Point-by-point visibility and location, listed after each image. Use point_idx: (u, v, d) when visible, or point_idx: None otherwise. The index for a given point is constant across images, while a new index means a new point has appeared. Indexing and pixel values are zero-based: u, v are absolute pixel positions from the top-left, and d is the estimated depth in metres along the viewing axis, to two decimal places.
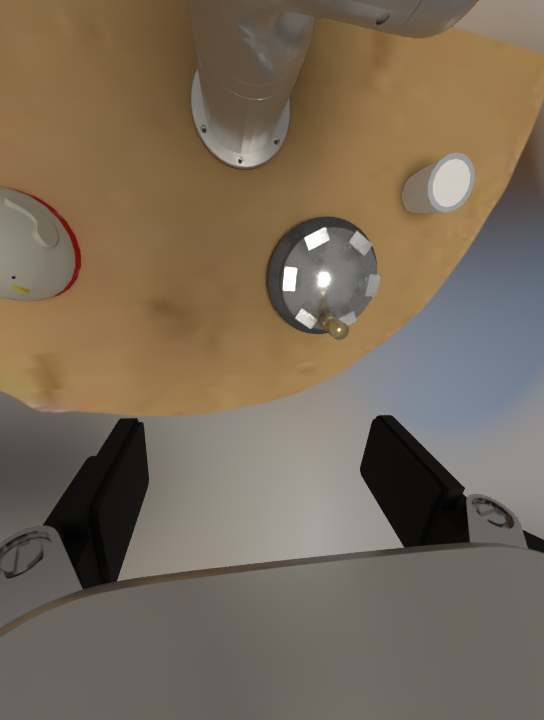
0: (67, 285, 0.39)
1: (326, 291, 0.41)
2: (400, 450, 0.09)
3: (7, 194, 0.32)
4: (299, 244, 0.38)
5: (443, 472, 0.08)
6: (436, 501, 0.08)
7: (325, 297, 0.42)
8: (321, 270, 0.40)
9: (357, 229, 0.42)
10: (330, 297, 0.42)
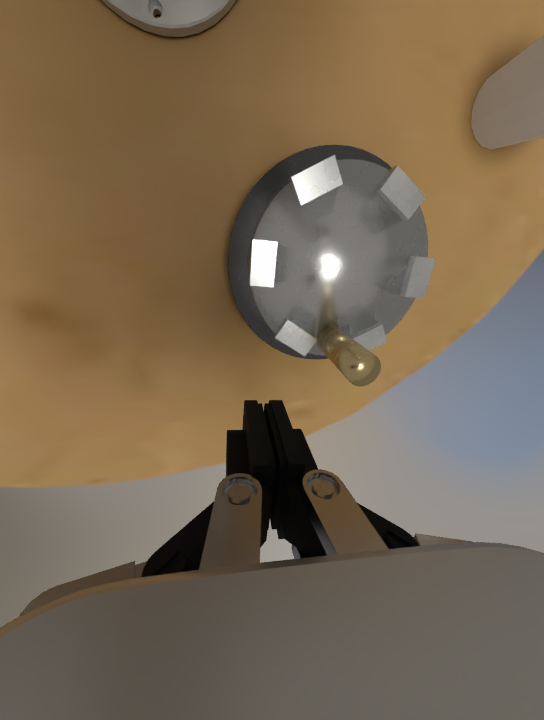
0: None
1: (333, 287, 0.22)
2: (271, 431, 0.10)
3: None
4: (282, 193, 0.19)
5: (294, 449, 0.09)
6: (282, 476, 0.08)
7: (331, 298, 0.23)
8: (324, 247, 0.21)
9: None
10: (340, 298, 0.23)
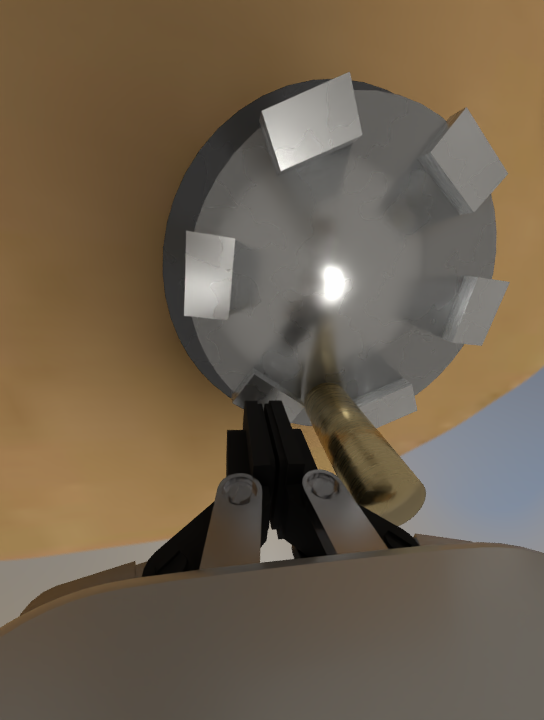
0: None
1: (335, 322, 0.13)
2: (271, 431, 0.10)
3: None
4: (246, 148, 0.10)
5: (294, 449, 0.09)
6: (282, 476, 0.08)
7: (330, 340, 0.14)
8: (322, 254, 0.12)
9: None
10: (346, 340, 0.14)
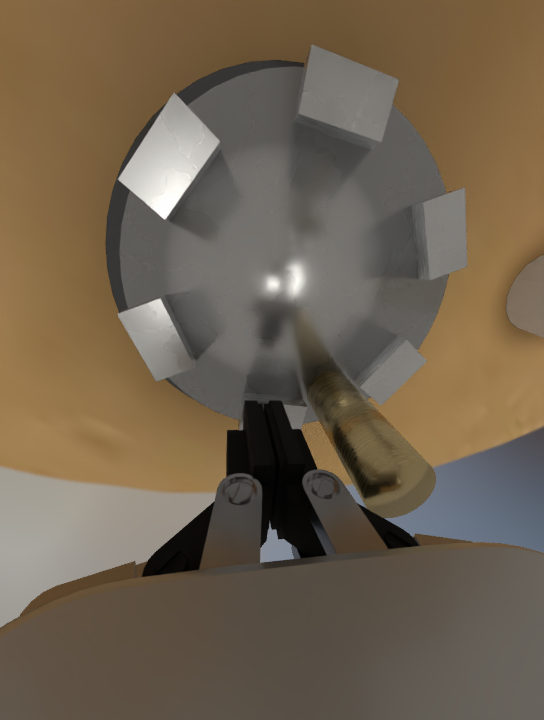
0: None
1: (298, 318, 0.13)
2: (271, 431, 0.10)
3: None
4: (129, 214, 0.10)
5: (294, 449, 0.09)
6: (282, 476, 0.08)
7: (302, 336, 0.13)
8: (250, 265, 0.12)
9: None
10: (318, 329, 0.13)
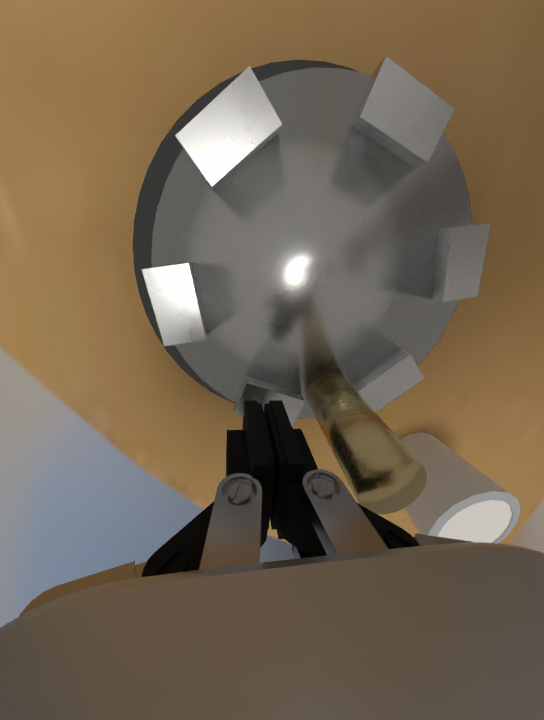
0: None
1: (313, 313, 0.13)
2: (271, 431, 0.10)
3: None
4: (175, 173, 0.10)
5: (294, 449, 0.09)
6: (282, 476, 0.08)
7: (314, 331, 0.13)
8: (280, 251, 0.12)
9: None
10: (330, 328, 0.13)
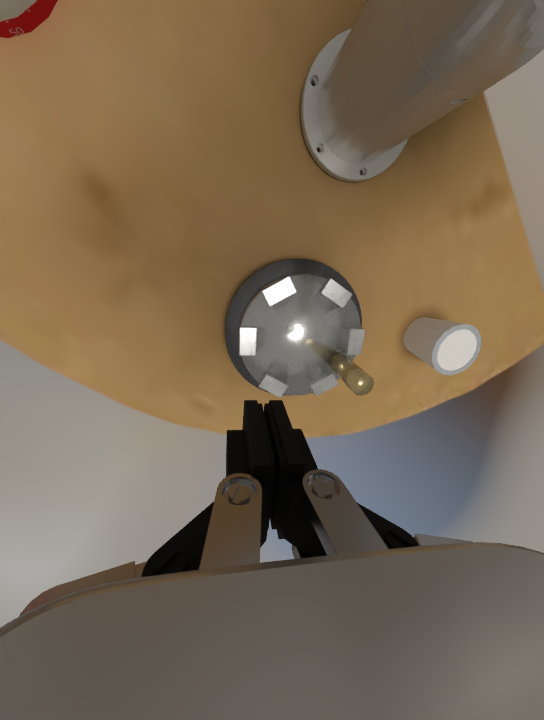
0: None
1: (308, 348, 0.33)
2: (271, 431, 0.10)
3: None
4: (244, 359, 0.32)
5: (294, 449, 0.09)
6: (282, 476, 0.08)
7: (314, 352, 0.33)
8: (283, 346, 0.32)
9: (359, 317, 0.36)
10: (318, 346, 0.33)
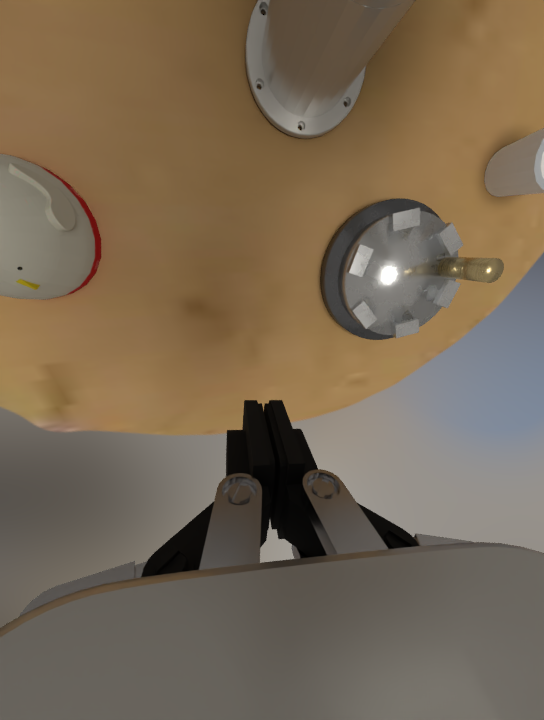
0: (84, 280, 0.32)
1: (413, 279, 0.34)
2: (271, 431, 0.10)
3: (12, 161, 0.25)
4: (369, 328, 0.36)
5: (294, 449, 0.09)
6: (282, 476, 0.08)
7: (420, 277, 0.34)
8: (391, 294, 0.34)
9: (434, 214, 0.34)
10: (420, 270, 0.34)
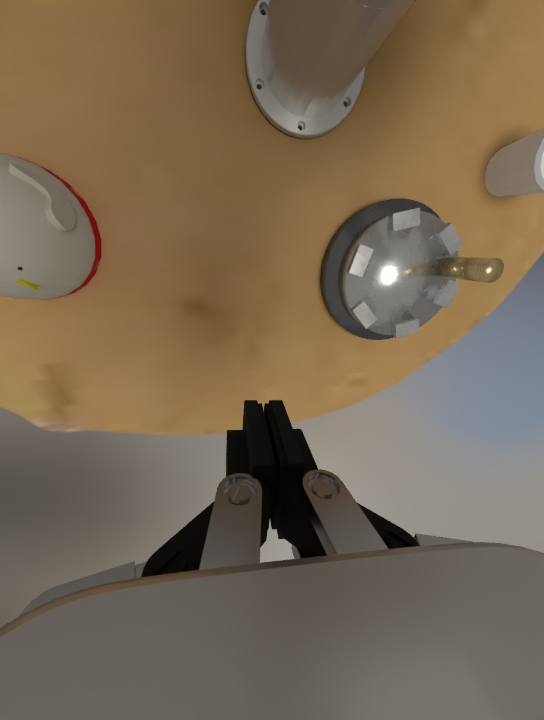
0: (84, 280, 0.32)
1: (413, 279, 0.34)
2: (271, 431, 0.10)
3: (12, 161, 0.25)
4: (369, 328, 0.36)
5: (294, 449, 0.09)
6: (282, 476, 0.08)
7: (420, 277, 0.34)
8: (391, 294, 0.34)
9: (434, 214, 0.34)
10: (420, 270, 0.34)
